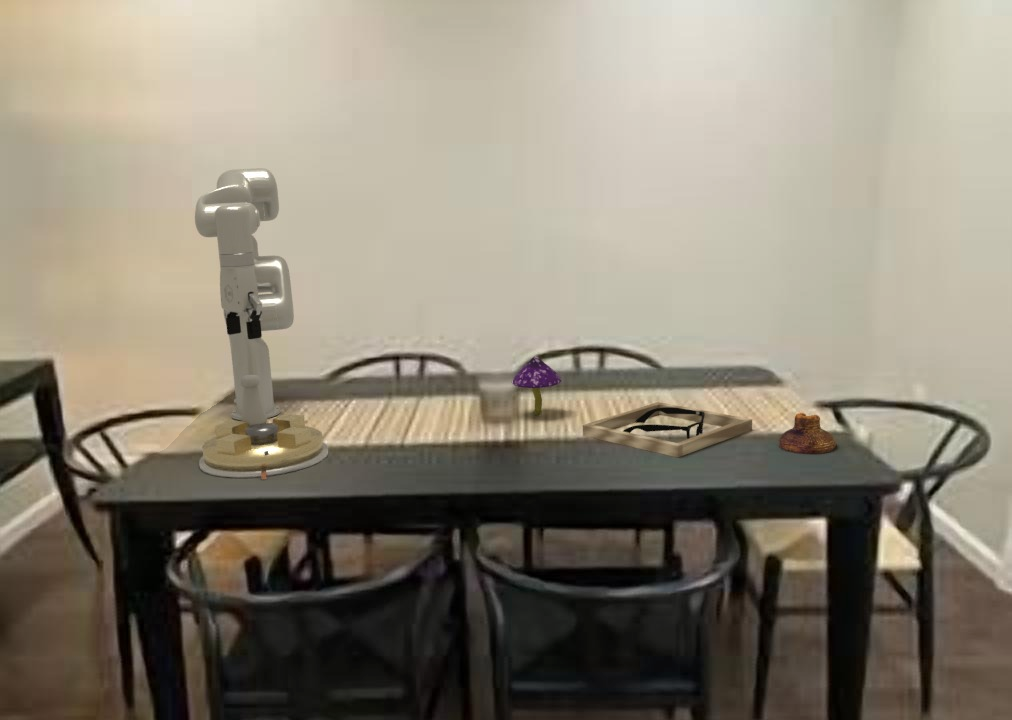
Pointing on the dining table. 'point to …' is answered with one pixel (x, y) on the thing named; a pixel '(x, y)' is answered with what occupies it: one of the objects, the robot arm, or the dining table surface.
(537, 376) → the decorative mushroom
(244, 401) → the salt shaker
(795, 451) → the bell
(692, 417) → the shallow square wooden tray
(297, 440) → the round wooden platform
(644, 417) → the glasses
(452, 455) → the dining table surface
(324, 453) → the round white base
